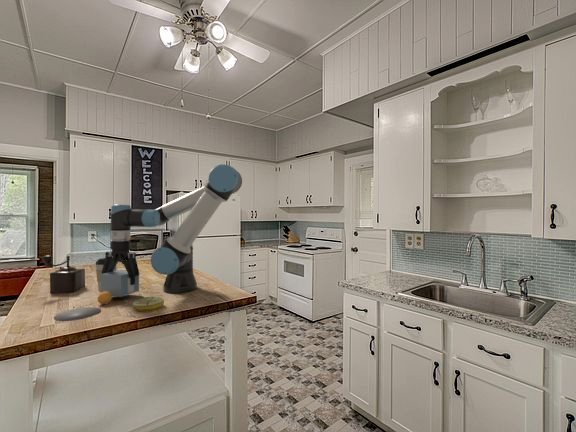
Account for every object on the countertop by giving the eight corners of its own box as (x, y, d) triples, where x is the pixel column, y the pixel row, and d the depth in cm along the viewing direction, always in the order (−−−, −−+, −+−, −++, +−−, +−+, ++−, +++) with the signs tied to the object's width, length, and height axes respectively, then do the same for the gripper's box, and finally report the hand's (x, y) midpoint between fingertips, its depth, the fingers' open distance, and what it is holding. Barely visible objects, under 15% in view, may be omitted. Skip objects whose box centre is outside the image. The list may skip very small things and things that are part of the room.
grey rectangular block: (138, 290, 134) (139, 271, 134) (120, 296, 125) (121, 275, 124) (120, 289, 137) (120, 269, 137) (100, 294, 127) (101, 274, 127)
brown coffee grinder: (62, 287, 149) (61, 251, 149) (86, 287, 150) (85, 251, 150) (39, 296, 133) (39, 256, 133) (66, 295, 135) (66, 255, 134)
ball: (114, 302, 123) (114, 290, 123) (105, 306, 119) (104, 293, 118) (104, 301, 124) (104, 289, 124) (94, 305, 120) (94, 292, 120)
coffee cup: (110, 291, 141) (109, 259, 141) (91, 291, 142) (90, 259, 141) (121, 286, 151) (120, 256, 150) (103, 286, 151) (103, 256, 151)
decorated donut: (150, 303, 123) (150, 294, 123) (169, 306, 118) (169, 296, 118) (127, 310, 114) (127, 300, 114) (147, 314, 109) (147, 304, 109)
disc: (109, 308, 115) (109, 308, 115) (76, 322, 101) (76, 321, 101) (79, 306, 118) (79, 306, 118) (43, 319, 104) (43, 318, 104)
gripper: (91, 239, 130) (91, 291, 130) (136, 242, 124) (135, 295, 124) (106, 238, 137) (106, 287, 137) (149, 240, 131) (148, 291, 131)
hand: (120, 291), depth 131 cm, fingers closed on grey rectangular block, 10 cm apart
